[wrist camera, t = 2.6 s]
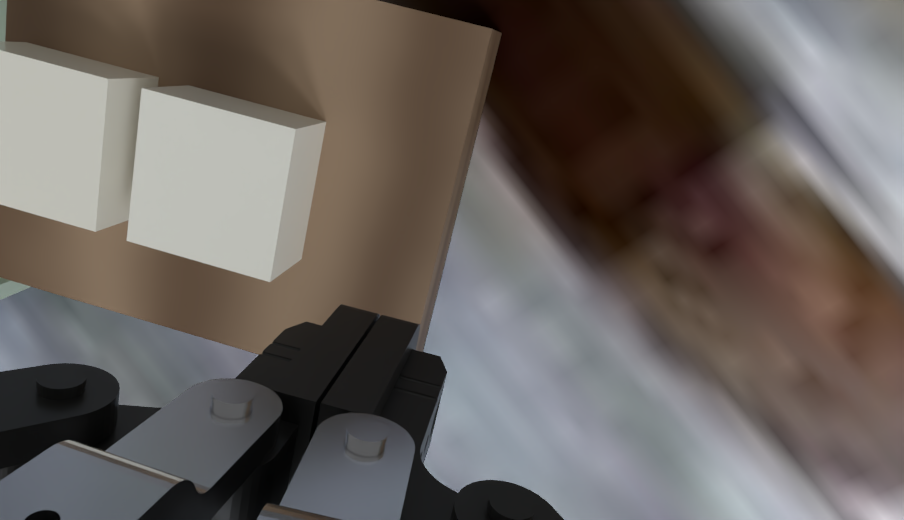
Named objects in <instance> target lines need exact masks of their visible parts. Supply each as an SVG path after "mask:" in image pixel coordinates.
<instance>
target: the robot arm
mask: <svg viewBox="0 0 904 520" xmlns="http://www.w3.org/2000/svg"><path fill="white" fill-rule="evenodd" d="M419 331H420V324H416V323H413V322H409V321H405V320H401V319H397V318H393V317H390V316H386V315H381V316H380V314H378V313H374V312H370V311H366V310H362V309H358V308H355V307H351V306H347V305H343V304H341V305H340V306H339V307H338V308H337V309H336V310H335V311H334V312H333V313H332V315H331V316H330V317H329V318H328V319H327V320H326V321H325V322H324V324H323V325H318V324H314V323H310V322H307V321H306V322H304V323H301V324H298V325H295V326H292V327H290V328H287V329H285V330H284V331H283V332H282V333H281V334H280V335H279V336H278V337H277V338H276V339H275V340H274V341H273V342H272V344H270V345H269V346H267V347H266V348H265V349H264V350H263V352H262V354H259V355H258V356H257V357H256V358H255V359H254V360H253V361H252V362H251V363H250V364H249V365H248V366H247V367H246V368H245V369H244V370H243V371H242V372H241V373H240V374H239V375H238V376H237V377H236V378H235V379H214V380H208V381H204V382H201V383H198V384H196V385H193V386H192V387H190V388H188V389H187V390H186V391H184V392H183V393H182V394H180V395H179V396H178V397H176V398H175V399H174V400H172V401H171V402H170V403H168V404H167V405H166V406H164V407H163V408H153V407H140V406H127V405H118V402H119V389H120V388H119V383H118V381H117V379H116V378H115V377H114V376H113V375H111V374H110V373H108V372H106V371H104V370H102V369H99V368H96V367H93V366H88V365H82V364H67V363H64V364H50V365H42V366H36V367H29V368H23V369H16V370H10V371H3V372H0V520H564V519H563V518H562V517H561V516H560V515H559V514H558V513H557V512H556V511H555V510H554V508H553V507H552V506H551V505H550V504H549V503H548V502H547V501H545V500H544V499H543V498H541V497H540V496H539V495H537V494H536V493H534V492H532V491H530V490H528V489H526V488H524V487H522V486H519V485H516V484H513V483H509V482H504V481H497V480H485V481H478V482H474V483H471V484H469V485H467V486H465V487H464V488H462V489H461V490H460V492H459V493H457V492H455V491H453V490H451V489H449V488H448V487H446V486H444V485H443V484H441V483H440V482H439V481H437V480H436V479H435V478H434V477H433V476H432V475H431V474H430V473H429V472H428V471H427V469H426V468H425V466H424V464H423V463H424V460H425V457H426V454H427V451H428V448H429V445H430V441H431V437H432V433H433V429H434V425H435V420H436V416H437V412H438V408H439V404H440V399H441V395H442V391H443V387H444V383H445V378H446V374H447V371H446V369H445V366H444V364H443V362H442V360H441V357H440V356H436V355H432V354H428V353H425V352H421V351H417V350H416V346H417V342H418V337H419Z"/></svg>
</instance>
